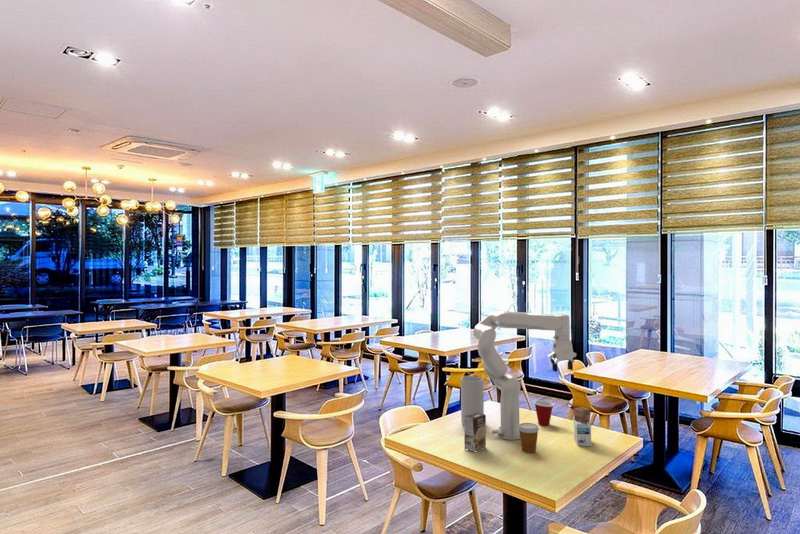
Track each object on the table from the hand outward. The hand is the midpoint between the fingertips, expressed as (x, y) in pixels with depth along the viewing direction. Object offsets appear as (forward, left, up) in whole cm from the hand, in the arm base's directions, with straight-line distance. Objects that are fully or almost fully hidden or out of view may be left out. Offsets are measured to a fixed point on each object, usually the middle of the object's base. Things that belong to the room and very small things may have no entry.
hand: (562, 370), depth 261 cm
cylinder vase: (-38, +30, -32) cm, 58 cm away
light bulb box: (-2, -17, -33) cm, 37 cm away
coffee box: (-55, -5, -32) cm, 64 cm away
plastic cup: (-2, +14, -32) cm, 35 cm away
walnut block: (-2, -17, -22) cm, 28 cm away
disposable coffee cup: (-33, -17, -32) cm, 49 cm away
